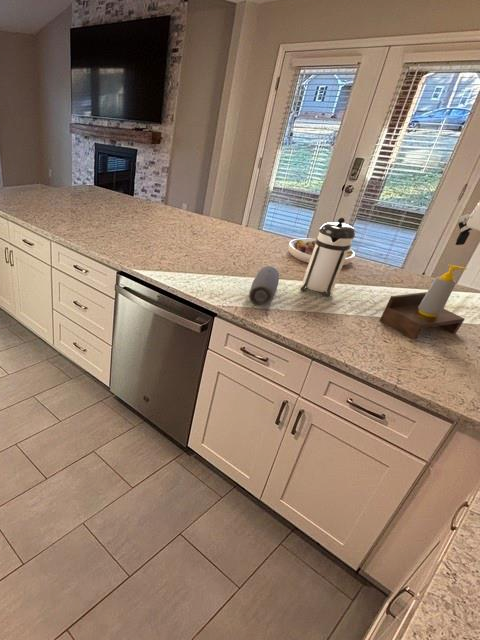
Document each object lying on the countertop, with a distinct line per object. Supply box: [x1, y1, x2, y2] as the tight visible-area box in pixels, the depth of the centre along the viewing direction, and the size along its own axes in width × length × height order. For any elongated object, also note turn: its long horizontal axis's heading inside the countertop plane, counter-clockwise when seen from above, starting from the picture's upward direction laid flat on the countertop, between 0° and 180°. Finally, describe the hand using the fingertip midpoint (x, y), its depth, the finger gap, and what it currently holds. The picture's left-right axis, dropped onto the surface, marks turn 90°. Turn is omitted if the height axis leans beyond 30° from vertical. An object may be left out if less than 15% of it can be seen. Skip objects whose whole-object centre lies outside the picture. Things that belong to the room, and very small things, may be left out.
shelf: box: [379, 291, 465, 341], centre depth 147 cm, size 14×20×10 cm
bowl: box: [287, 238, 356, 266], centre depth 205 cm, size 30×30×8 cm
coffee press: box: [299, 217, 356, 298], centre depth 166 cm, size 17×16×30 cm
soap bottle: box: [418, 263, 468, 317], centre depth 140 cm, size 7×7×18 cm
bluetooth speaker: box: [248, 266, 280, 308], centre depth 162 cm, size 23×9×10 cm, turn 154°
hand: (474, 249), depth 132 cm, fingers open, 9 cm apart
